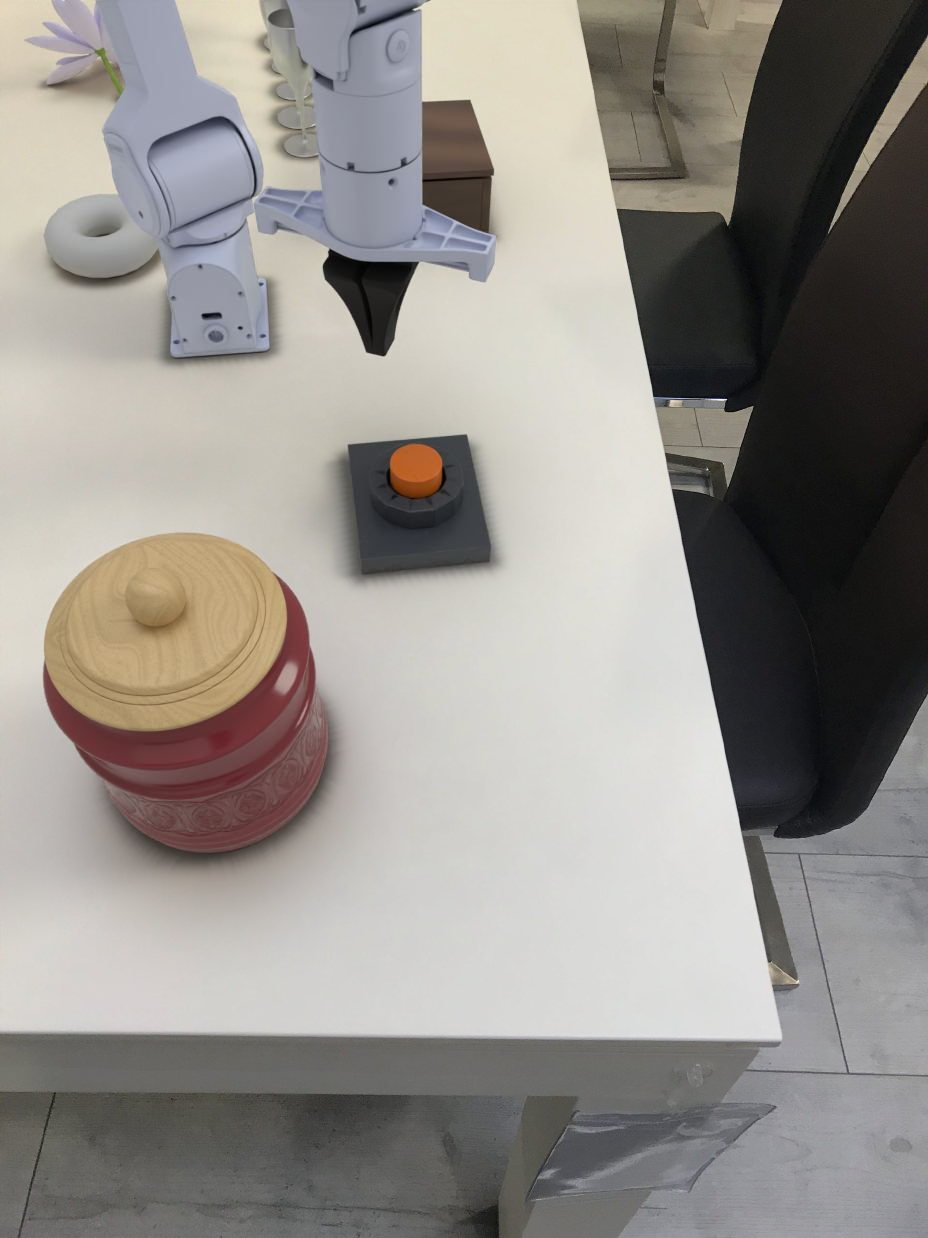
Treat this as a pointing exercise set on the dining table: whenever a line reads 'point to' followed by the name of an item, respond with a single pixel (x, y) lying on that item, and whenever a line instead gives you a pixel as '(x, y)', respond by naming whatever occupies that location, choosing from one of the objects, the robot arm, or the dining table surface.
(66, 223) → the donut
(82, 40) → the water lily
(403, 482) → the button
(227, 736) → the kitchen canister
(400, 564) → the control block
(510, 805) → the dining table surface
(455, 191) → the brown wooden box
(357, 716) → the dining table surface
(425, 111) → the lid
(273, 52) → the goblet set
